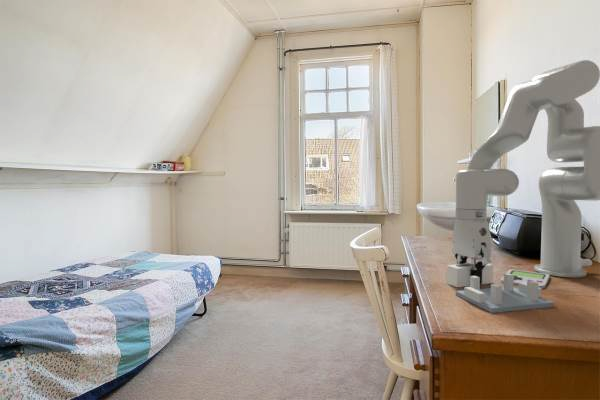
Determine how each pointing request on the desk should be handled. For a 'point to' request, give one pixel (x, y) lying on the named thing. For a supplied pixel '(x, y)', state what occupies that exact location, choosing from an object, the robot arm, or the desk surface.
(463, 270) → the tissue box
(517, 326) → the desk surface
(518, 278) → the handheld gaming console
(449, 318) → the desk surface
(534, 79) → the robot arm
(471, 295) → the bracket board
